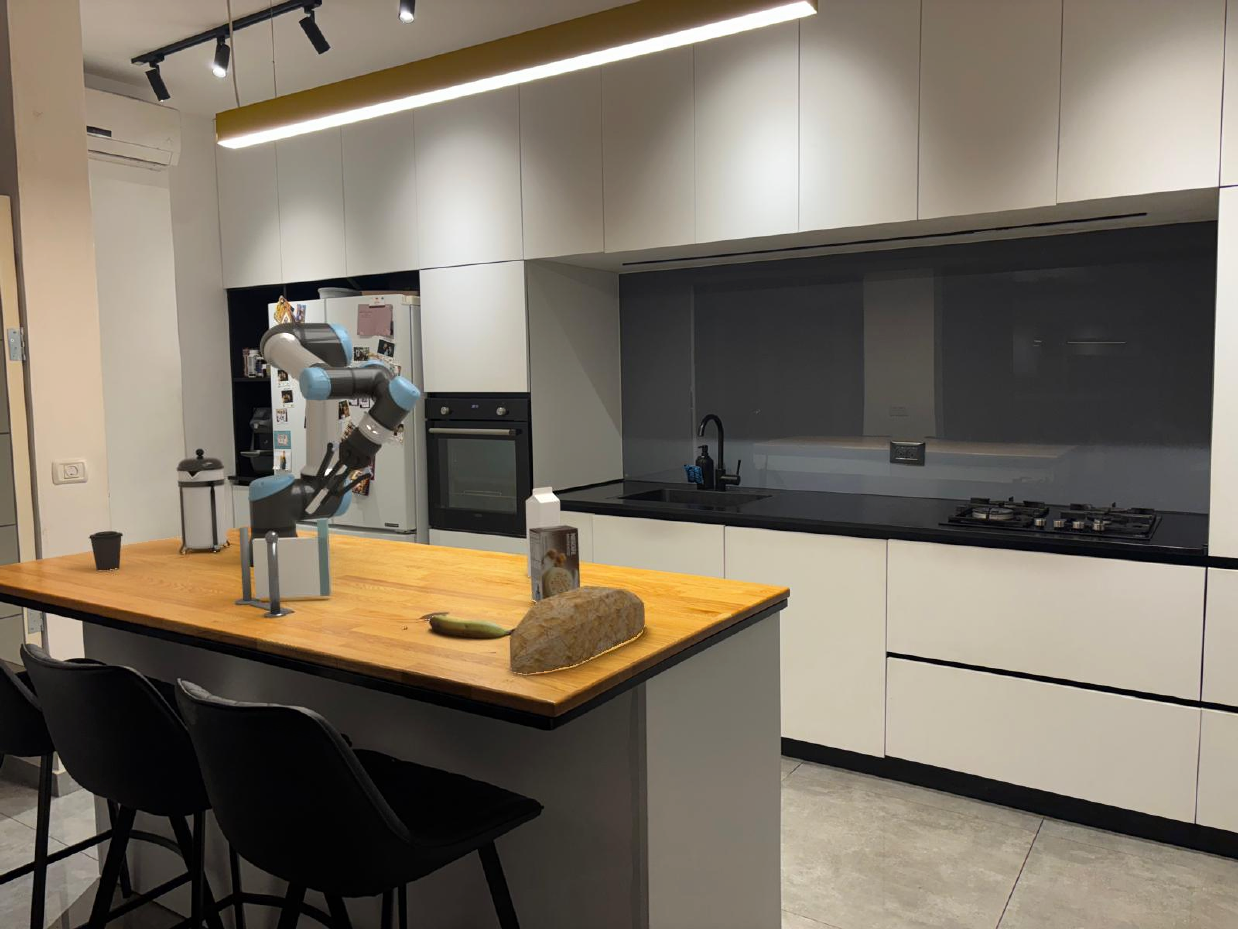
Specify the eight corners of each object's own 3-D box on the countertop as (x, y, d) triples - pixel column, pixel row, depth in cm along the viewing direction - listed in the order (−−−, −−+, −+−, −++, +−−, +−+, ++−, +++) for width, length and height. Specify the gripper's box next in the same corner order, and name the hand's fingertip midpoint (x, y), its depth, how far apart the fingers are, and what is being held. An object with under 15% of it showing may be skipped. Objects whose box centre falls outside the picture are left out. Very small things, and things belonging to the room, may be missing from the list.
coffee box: (569, 595, 211) (567, 524, 209) (581, 601, 205) (579, 528, 204) (530, 600, 207) (528, 527, 205) (542, 606, 201) (540, 531, 200)
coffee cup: (114, 572, 248) (112, 534, 247) (84, 572, 248) (81, 534, 247) (131, 566, 256) (129, 529, 255) (101, 566, 256) (99, 529, 255)
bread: (547, 681, 152) (546, 619, 151) (495, 670, 157) (493, 611, 157) (661, 630, 182) (660, 578, 181) (613, 623, 187) (612, 573, 187)
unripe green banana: (348, 645, 176) (347, 625, 175) (436, 612, 200) (435, 594, 200) (510, 666, 161) (509, 644, 161) (584, 628, 185) (583, 608, 185)
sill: (231, 602, 209) (230, 601, 209) (252, 598, 213) (252, 597, 213) (278, 615, 197) (278, 613, 197) (300, 611, 201) (300, 609, 201)
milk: (561, 577, 232) (560, 487, 230) (542, 581, 227) (540, 489, 225) (546, 573, 236) (544, 485, 234) (526, 577, 232) (525, 487, 230)
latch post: (260, 615, 197) (255, 531, 196) (279, 611, 201) (275, 529, 199) (271, 618, 194) (267, 533, 193) (290, 614, 198) (286, 531, 196)
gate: (241, 600, 209) (237, 522, 207) (244, 598, 211) (240, 521, 209) (329, 597, 210) (326, 519, 209) (331, 595, 212) (328, 518, 211)
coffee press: (245, 549, 279) (239, 447, 276) (189, 557, 267) (183, 451, 265) (219, 543, 291) (214, 445, 288) (165, 550, 279) (159, 449, 277)
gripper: (343, 419, 219) (282, 496, 221) (388, 454, 220) (326, 531, 222) (352, 416, 226) (293, 491, 229) (395, 450, 227) (336, 525, 230)
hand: (309, 511), depth 225 cm, fingers closed
